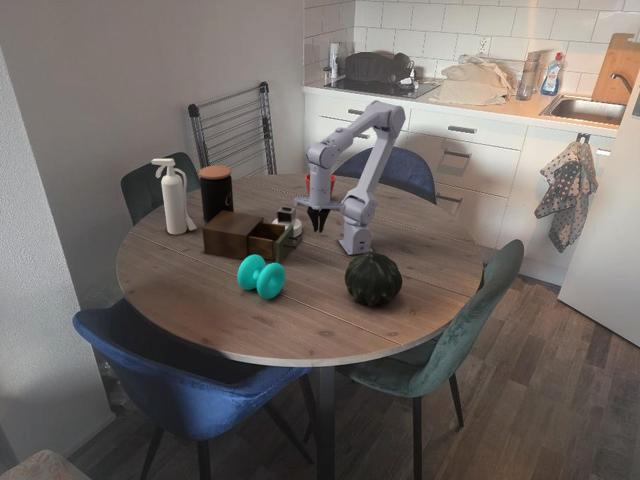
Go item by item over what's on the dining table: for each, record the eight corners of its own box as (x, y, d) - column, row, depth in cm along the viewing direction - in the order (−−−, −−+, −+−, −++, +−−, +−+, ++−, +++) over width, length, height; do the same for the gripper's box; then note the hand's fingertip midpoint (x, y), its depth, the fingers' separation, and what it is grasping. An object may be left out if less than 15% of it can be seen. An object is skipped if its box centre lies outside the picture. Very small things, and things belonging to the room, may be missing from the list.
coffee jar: (232, 226, 170) (229, 176, 160) (201, 226, 170) (196, 176, 161) (235, 213, 179) (232, 165, 169) (206, 213, 179) (201, 165, 170)
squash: (390, 259, 140) (363, 230, 130) (421, 288, 128) (393, 259, 119) (354, 294, 142) (324, 268, 132) (381, 326, 130) (350, 300, 121)
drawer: (305, 246, 156) (306, 227, 152) (292, 265, 146) (292, 245, 142) (254, 237, 161) (253, 218, 158) (238, 255, 151) (237, 235, 148)
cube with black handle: (295, 221, 165) (296, 206, 162) (291, 226, 162) (291, 211, 159) (281, 218, 167) (281, 204, 164) (277, 224, 163) (277, 209, 161)
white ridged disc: (267, 236, 163) (267, 227, 162) (277, 223, 172) (276, 214, 170) (297, 240, 161) (297, 231, 159) (305, 227, 169) (305, 218, 167)
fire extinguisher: (192, 237, 163) (183, 164, 150) (159, 233, 166) (147, 161, 153) (200, 228, 169) (192, 157, 156) (168, 224, 172) (158, 154, 158)
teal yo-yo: (260, 278, 142) (259, 247, 137) (287, 290, 137) (287, 259, 131) (236, 293, 136) (234, 262, 130) (263, 307, 130) (262, 274, 125)
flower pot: (324, 209, 181) (325, 184, 176) (299, 202, 187) (299, 177, 182) (339, 200, 188) (340, 175, 183) (315, 193, 194) (316, 169, 189)
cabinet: (264, 240, 161) (263, 216, 157) (247, 260, 150) (246, 235, 146) (224, 233, 166) (222, 210, 161) (204, 252, 155) (202, 228, 150)
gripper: (290, 188, 136) (290, 232, 143) (341, 195, 132) (339, 241, 139) (298, 179, 142) (298, 222, 149) (348, 186, 137) (345, 230, 144)
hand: (318, 230), depth 144 cm, fingers closed
